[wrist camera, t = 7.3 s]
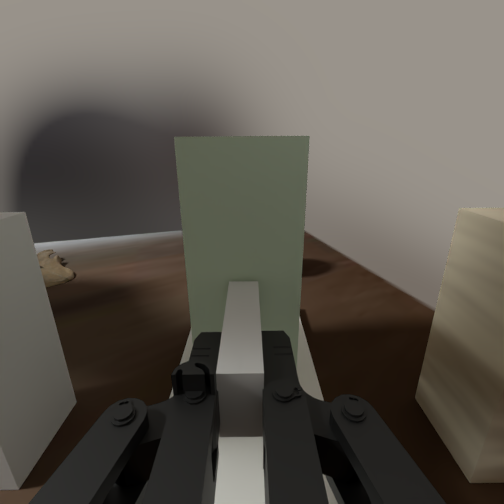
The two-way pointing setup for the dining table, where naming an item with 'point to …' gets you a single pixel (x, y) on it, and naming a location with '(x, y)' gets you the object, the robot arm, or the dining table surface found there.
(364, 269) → the dining table surface
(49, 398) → the grey block
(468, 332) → the birch block
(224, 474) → the rail plate
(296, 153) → the pale green block
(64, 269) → the jawbone
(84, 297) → the dining table surface
